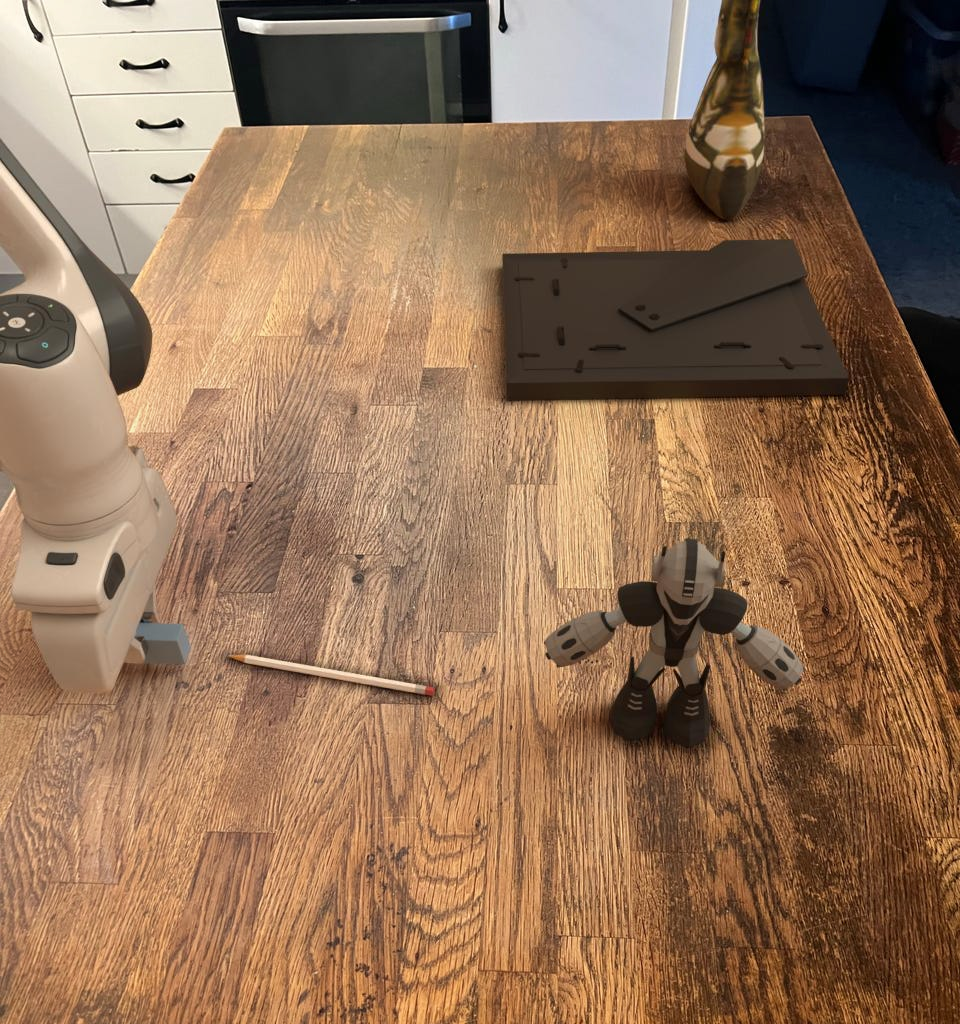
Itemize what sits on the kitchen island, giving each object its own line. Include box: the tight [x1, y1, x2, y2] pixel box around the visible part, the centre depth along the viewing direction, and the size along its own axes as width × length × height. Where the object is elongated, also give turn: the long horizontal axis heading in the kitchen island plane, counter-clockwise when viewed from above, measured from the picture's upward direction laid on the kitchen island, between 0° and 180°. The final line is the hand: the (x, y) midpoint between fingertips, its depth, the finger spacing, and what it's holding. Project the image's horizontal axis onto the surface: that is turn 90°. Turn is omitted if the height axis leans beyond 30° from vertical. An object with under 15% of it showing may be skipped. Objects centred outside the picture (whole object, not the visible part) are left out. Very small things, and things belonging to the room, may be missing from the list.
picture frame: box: [501, 238, 850, 401], centre depth 122 cm, size 31×4×38 cm
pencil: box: [228, 654, 435, 697], centre depth 85 cm, size 1×19×1 cm, turn 76°
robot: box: [543, 537, 804, 749], centre depth 74 cm, size 20×5×20 cm, turn 81°
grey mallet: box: [123, 622, 192, 665], centre depth 84 cm, size 11×4×3 cm, turn 87°
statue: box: [684, 0, 766, 221], centre depth 135 cm, size 16×11×35 cm, turn 3°
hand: (142, 642), depth 84 cm, fingers closed on grey mallet, 2 cm apart
